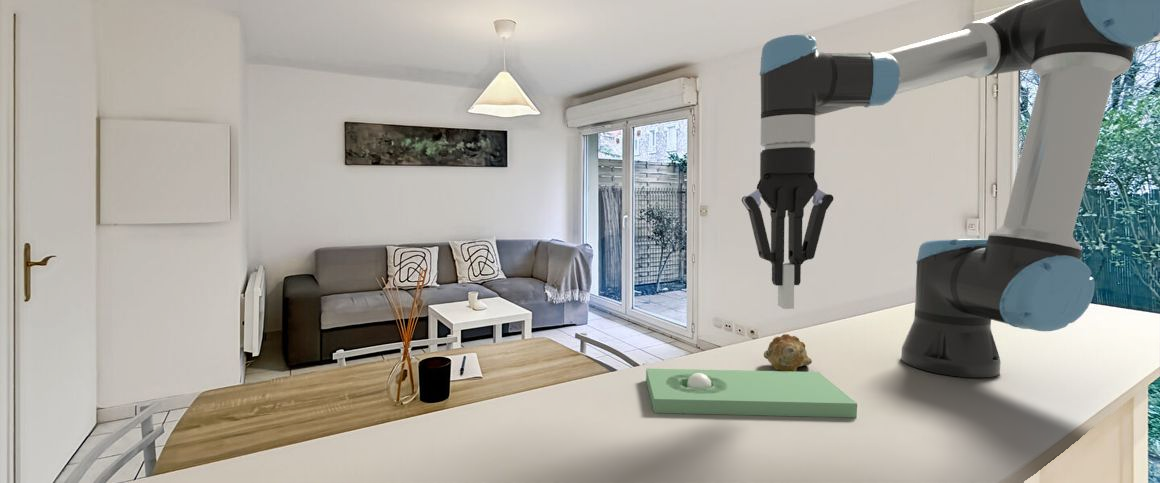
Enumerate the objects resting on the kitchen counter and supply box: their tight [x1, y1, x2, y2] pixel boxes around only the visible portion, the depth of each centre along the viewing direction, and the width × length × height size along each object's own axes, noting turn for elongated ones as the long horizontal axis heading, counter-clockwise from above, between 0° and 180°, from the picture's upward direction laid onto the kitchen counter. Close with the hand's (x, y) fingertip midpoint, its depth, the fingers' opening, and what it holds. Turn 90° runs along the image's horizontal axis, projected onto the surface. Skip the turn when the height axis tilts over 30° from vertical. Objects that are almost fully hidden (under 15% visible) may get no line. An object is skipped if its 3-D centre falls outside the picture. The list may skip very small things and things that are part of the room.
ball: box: [687, 373, 711, 389], centre depth 87 cm, size 4×4×4 cm
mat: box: [645, 368, 858, 418], centre depth 86 cm, size 28×14×2 cm, turn 88°
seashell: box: [763, 333, 813, 372], centre depth 100 cm, size 9×8×10 cm
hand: (785, 306), depth 85 cm, fingers closed
